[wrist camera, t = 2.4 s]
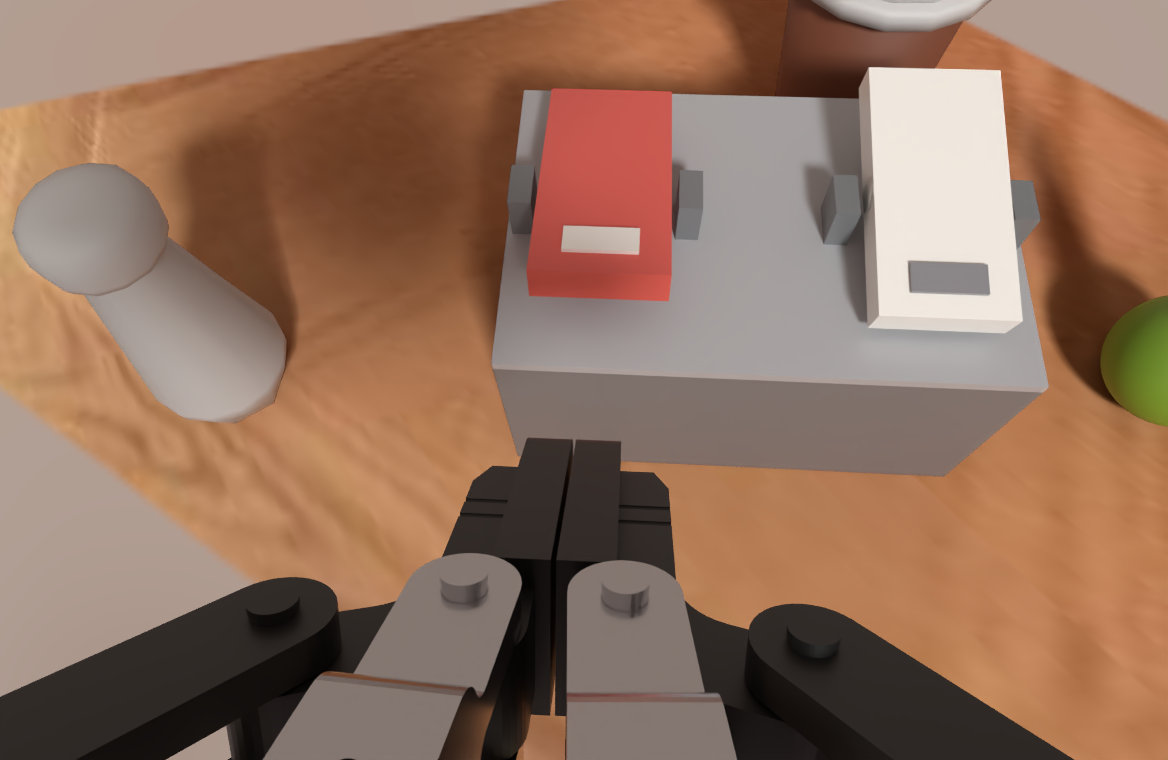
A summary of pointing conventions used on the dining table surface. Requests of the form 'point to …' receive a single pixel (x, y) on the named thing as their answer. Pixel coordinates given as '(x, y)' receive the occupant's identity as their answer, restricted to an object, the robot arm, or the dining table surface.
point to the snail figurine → (1139, 361)
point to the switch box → (755, 315)
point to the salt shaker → (152, 293)
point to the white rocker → (937, 201)
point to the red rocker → (604, 197)
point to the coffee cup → (862, 41)
